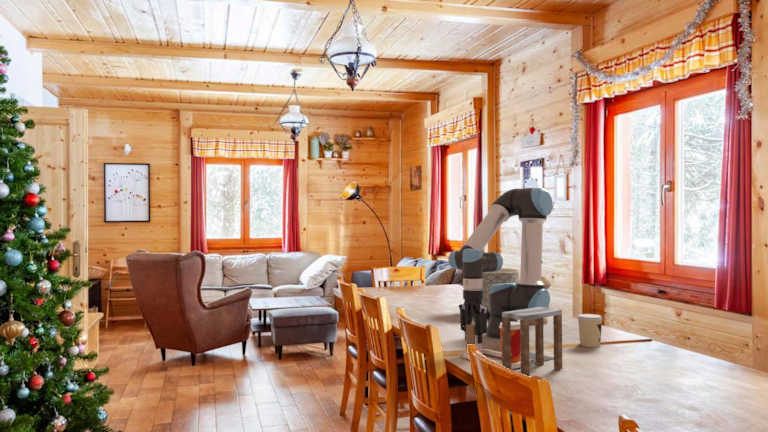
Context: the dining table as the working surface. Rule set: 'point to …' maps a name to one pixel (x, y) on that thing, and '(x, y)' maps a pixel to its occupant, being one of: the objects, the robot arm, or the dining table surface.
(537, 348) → the small wooden stool
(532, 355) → the coaster
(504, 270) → the planter
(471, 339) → the frame
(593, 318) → the coffee cup
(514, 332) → the coffee cup
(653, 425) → the dining table surface
